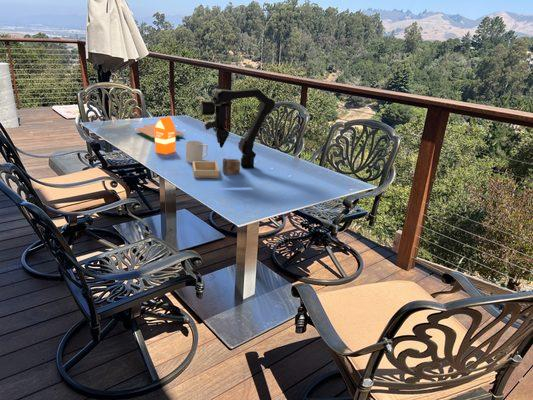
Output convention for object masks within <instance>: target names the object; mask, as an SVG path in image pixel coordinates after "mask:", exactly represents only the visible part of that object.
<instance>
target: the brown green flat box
mask: <svg viewBox="0 0 533 400" xmlns="http://www.w3.org/2000/svg"><path fill="white" fill-rule="evenodd" d="M156 124H157V122H156V123H153V124H148V125H143V126H141V127H137V128H135V130H136V131H138V132H139V134H140V136H143V137H145V138H146V139H149V140H151V141H155V126H156ZM184 135H185V133H184V132H181V131H179V130H177V129H175V137H179V138H181V139H184Z"/></svg>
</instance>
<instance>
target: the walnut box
mask: <svg viewBox="0 0 533 400" xmlns="http://www.w3.org/2000/svg"><path fill="white" fill-rule="evenodd" d="M240 168H241V160H240V159H238V158H237V159H231V158H230V159H229V158H228V159H227V158H222V173H223V175H240V172H241V171H240V170H241V169H240Z"/></svg>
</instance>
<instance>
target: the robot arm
mask: <svg viewBox="0 0 533 400" xmlns="http://www.w3.org/2000/svg"><path fill="white" fill-rule="evenodd" d="M247 98H256V99H257V101H259V105H258V112H257V114H256V116H255V118H254V119H253V122H252V124H251V126H250V129H249V130H248V132H247V134H246V136H244V137H243V136H242V137H241V138H240V141H239V142H238V146H237V147H238V150H239V151H240V152H241V158H240V167H241V168H242V169H255V166H254V165H255V158H256V155H257V154H256V153H255V152H254V151H253V149H254V145H255V139H256V137H257V135H258V133H259V131H260V129H261V127H262V125H263V123H264V122H265V120H266V117H267V116H268V115H269V114H270V113H271V112H272V111H273V109H274V108H275V105H276V103H275V101H274V99H272V98H270V97H268V96H267V95H266V94H265V93H264V92H262V90H260V89H259V88H255V87H254V88H247V89H236V90H235V89H234V90H230V89H225V88H223V89H222V88H219V89H217V90H216V91H215V92H214V96H213V97H212V98H211V100H210V101H208V100H207V101H205V100H201V103H200V107H199V111H200V116H213V115H214V114H215V116H214V117H213V119H209V120H206V121H204V122H203V125H204V128H205V130H206V131H209V130H210V129H212V130H213V132H215V136H216V140H217V141H216V142H217V144H219V148H223V147H224V144H225V143H226V140H227V139H228V138H229V136H230V131H229V129H228V126H227V121H228V118H227V115H228V113H227V112H228V108H229V107H232V105H231V104H230V103H229V102H230V101H233V100H236V99H247Z"/></svg>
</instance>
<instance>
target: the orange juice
mask: <svg viewBox="0 0 533 400" xmlns="http://www.w3.org/2000/svg"><path fill="white" fill-rule="evenodd" d="M156 123H157V124H156ZM156 123H155V124H156V126H155V138H154V149H155V150H154V152H155V153H157V154H162V155H168V154H171V153H174V152H176V136H175V130H176V127H175V124H174V122H173V120H172V118H171V116H165V117H161V118H159V119H158V120H157V122H156Z"/></svg>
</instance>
